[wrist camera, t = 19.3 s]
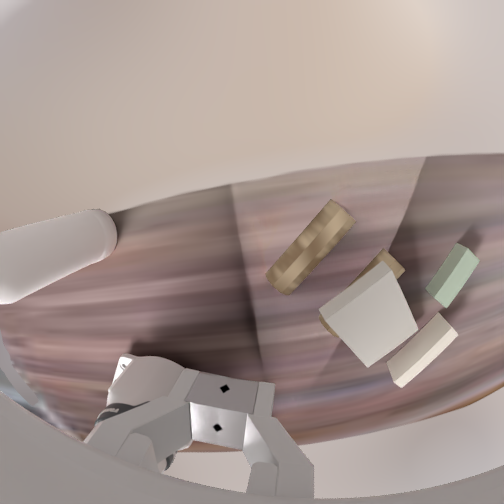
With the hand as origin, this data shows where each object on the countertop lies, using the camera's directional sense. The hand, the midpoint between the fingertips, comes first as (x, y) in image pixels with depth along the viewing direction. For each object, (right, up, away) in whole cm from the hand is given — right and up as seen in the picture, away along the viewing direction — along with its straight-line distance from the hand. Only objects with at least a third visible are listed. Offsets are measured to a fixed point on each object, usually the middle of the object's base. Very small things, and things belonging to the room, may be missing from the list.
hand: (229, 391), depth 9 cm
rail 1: (+8, +6, +28) cm, 29 cm away
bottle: (-23, +7, +32) cm, 40 cm away
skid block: (+28, +2, +26) cm, 38 cm away
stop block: (+25, -9, +29) cm, 39 cm away
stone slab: (+16, -4, +25) cm, 30 cm away
